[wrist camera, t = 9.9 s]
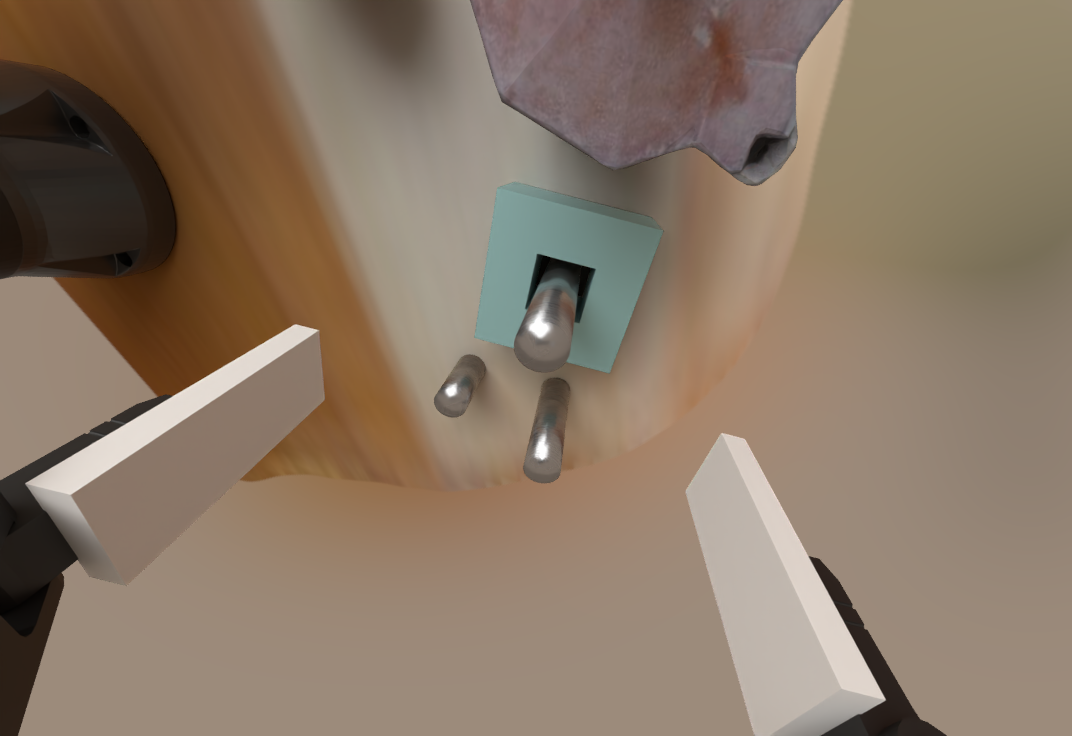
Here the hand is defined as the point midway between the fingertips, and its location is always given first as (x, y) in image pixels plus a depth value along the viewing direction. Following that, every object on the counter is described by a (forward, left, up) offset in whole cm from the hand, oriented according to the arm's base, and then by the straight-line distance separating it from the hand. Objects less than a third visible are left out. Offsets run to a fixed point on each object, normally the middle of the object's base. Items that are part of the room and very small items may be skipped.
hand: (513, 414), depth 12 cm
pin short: (-6, -11, -20) cm, 23 cm away
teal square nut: (0, 0, -20) cm, 20 cm away
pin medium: (+2, -11, -20) cm, 23 cm away
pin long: (0, 0, -20) cm, 20 cm away
